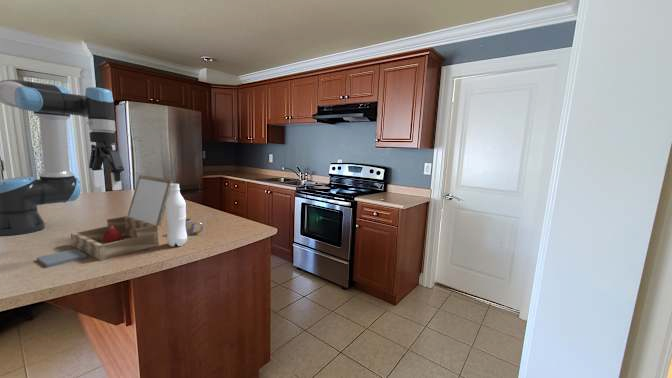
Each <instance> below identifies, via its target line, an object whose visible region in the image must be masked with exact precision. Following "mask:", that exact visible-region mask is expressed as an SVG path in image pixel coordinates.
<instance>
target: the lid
mask: <svg viewBox="0 0 672 378" xmlns="http://www.w3.org/2000/svg"><path fill="white" fill-rule="evenodd" d="M170 184H174V180H172V179H166V178H162V177H161V178H159V177H154V176H148V175H142V174H139V175H138V178H137V181H136V185H135V189H134V192H133V196H132V199H131V202H130V207H129V210H128V213H127V216H128V217H131V218H134V219H137V220H141V221H144V222H147V223H150V224H153V225H157V226H158V227H162V224H163V221H164V217H165V214H166V206H165V203H166V201H167V199H168V197H169V195H170V192H171V190H170V188H171V185H170Z"/></svg>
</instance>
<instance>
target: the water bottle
mask: <svg viewBox="0 0 672 378" xmlns="http://www.w3.org/2000/svg"><path fill="white" fill-rule="evenodd" d="M170 185H171V188H170V190H171V192H170V195H169V197H168V199H167V201H166V203H165V206H166V210H165V219H166V223H167V233H166V235H167V236H166V241H167V243H168V245H169V246H170V247H175V246H176V245H177V246H178V247H181V246H183V245H186V244H187V241H188V235H187V233H186V227H185V221H186V219H187V207H186V206H187V203H186V201H185V199H184V196H182V194H181V191H180V190H181V188H180V183H173V184H170Z"/></svg>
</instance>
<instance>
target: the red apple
mask: <svg viewBox="0 0 672 378" xmlns="http://www.w3.org/2000/svg"><path fill="white" fill-rule="evenodd" d="M122 239H123V236H122V234H121V232H120V231H119V230H117V229H115V228H114V226H111V227H110V228H109V229H108V230H107V231H106V232H105V233H104V234H103V240H102V241H103V242H104V244H107V243H111V242H116V241H120V240H122Z"/></svg>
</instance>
